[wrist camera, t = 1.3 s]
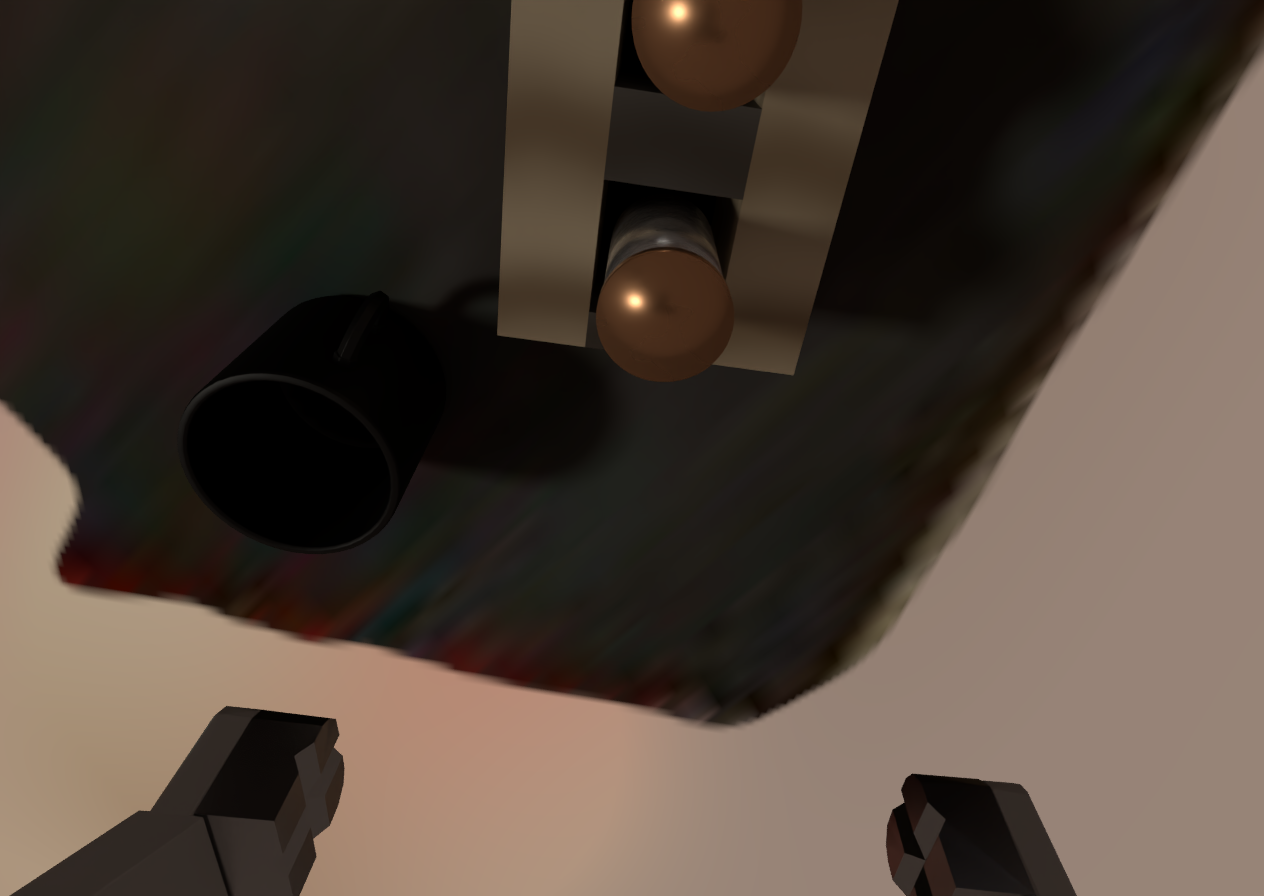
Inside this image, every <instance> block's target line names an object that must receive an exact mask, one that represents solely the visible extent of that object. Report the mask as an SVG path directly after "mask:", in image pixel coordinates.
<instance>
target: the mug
mask: <svg viewBox="0 0 1264 896" xmlns="http://www.w3.org/2000/svg"><path fill="white" fill-rule="evenodd" d="M445 400H446V386H445V379H444V374H443V371H442V368H441V365H440V363H439V360H438V358H437V356H436V354H435V352H434V350H433V348H432V347H431V345H430V344H429V343H428V341H427V340H426V338H425V337H424V336H423V335H422V334H421V333H420V332H419V331H418V330H417V328H416V327H415V326H414V325H412V324H411V323H410V322H409V321H407V320H406V319H405V318H404V317H402V316H401V315H399V314H397V313H396V312H394V311H392V310H391V309H389V297H388V296H387V295H386V294H384V293H383V292H382V291H378V292H375V293H372V294H370V295H369V296H368V297H367V298H366V300H365V299H362V298H356V297H348V296H326V297H320V298H315V299H311V300H309V301H306V302H303V303H301V304H299V305H297V306H296V307H294V308H292V309H291V310H289V311H288V312H287V313H286V314H285V315H284V316H282V317H281V318H280V319H279V320H278V321H277V322H276V323H275V324H273V325H272V326H271V327H270V328H269V329H268V330H267V331H266V332H265V333H263V334H262V335H261V336H260V337H259V338H258V339H257V340H256V341H255V342H253V343H252V344H251V345H250V346H249V347H248V348H247V349H246V350H245V351H243V352H242V353H241V354H240V355H239V356H238V357H237V358H236V359H235V360H233V361H232V362H231V363H230V364H229V365H228V366H227V367H226V368H225V369H223V370H222V371H221V372H220V373H219V374H218V375H217V376H216V377H214V378H213V379H212V380H211V381H210V382H209V383H208V384H207V385H206V386H204V387H203V388H202V389H201V390H200V391H199V392H198V393H197V394H196V395H195V396H194V397H193V398H192V400H191V401H190V402H189V404H188V405H187V407H186V409H185V411H184V413H183V415H182V418H181V420H180V424H179V430H178V453H179V457H180V462H181V465H182V468H183V470H184V473H185V475H186V477H187V479H188V481H189V483H190V484H191V486H192V488H193V489H194V491H195V492H196V494H197V495H198V496H199V498H200V499H201V500H202V501H203V503H204V504H205V505H206V506H207V507H208V508H209V509H210V510H211V511H212V512H213V513H214V514H215V515H217V516H218V517H219V518H220V519H221V520H223V521H224V522H225V523H227V524H228V525H229V526H230V527H232V528H234V529H235V530H237V531H239V532H240V533H242V534H244V535H245V536H247V537H249V538H251V539H254V540H256V541H258V542H260V543H263V544H265V545H268V546H271V547H274V548H278V549H281V550H286V551H290V552H296V553H305V554H327V553H335V552H340V551H344V550H348V549H351V548H354V547H356V546H358V545H361V544H363V543H365V542H366V541H368V540H369V539H371V538H372V537H374V536H375V535H377V534H378V533H379V532H380V531H381V530H382V529H383V528H384V527H385V526H386V525H387V523H388V522H389V521H390V519H391V518H392V516H393V514H394V513H395V511H396V509H397V507H398V505H399V503H400V501H401V498H402V496H403V494H404V492H405V490H406V488H407V486H408V484H409V482H410V480H411V478H412V476H413V474H414V472H415V470H416V468H417V466H418V464H419V462H420V459H421V457H422V455H423V453H424V451H425V449H426V447H427V445H428V443H429V441H430V439H431V437H432V435H433V433H434V431H435V429H436V427H437V425H438V423H439V420H440V418H441V415H442V413H443V410H444V405H445Z"/></svg>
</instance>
